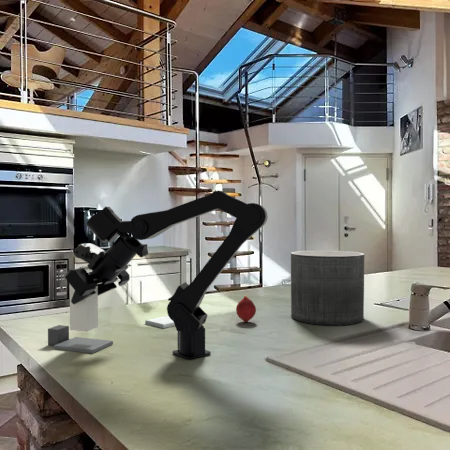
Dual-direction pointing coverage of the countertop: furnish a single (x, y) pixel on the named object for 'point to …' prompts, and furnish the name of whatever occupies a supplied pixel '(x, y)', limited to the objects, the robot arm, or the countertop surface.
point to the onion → (246, 309)
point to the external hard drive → (161, 322)
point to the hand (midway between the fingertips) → (79, 300)
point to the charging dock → (74, 341)
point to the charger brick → (84, 312)
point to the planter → (327, 287)
